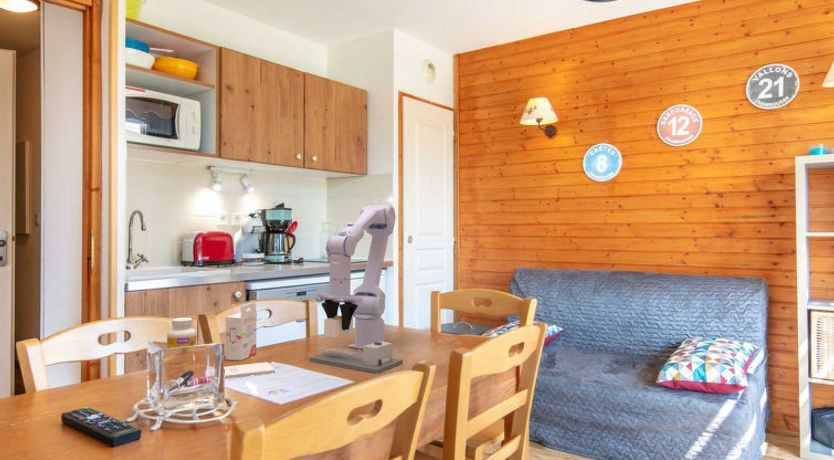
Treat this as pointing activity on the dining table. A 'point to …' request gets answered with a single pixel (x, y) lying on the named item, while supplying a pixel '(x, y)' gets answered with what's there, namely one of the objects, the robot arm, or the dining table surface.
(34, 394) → the dining table surface
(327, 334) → the din module
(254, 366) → the external hard drive
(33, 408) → the dining table surface
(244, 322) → the ink cartridge box
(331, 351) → the din rail
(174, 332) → the supplement bottle
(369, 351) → the module
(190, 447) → the dining table surface
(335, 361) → the mounting board
